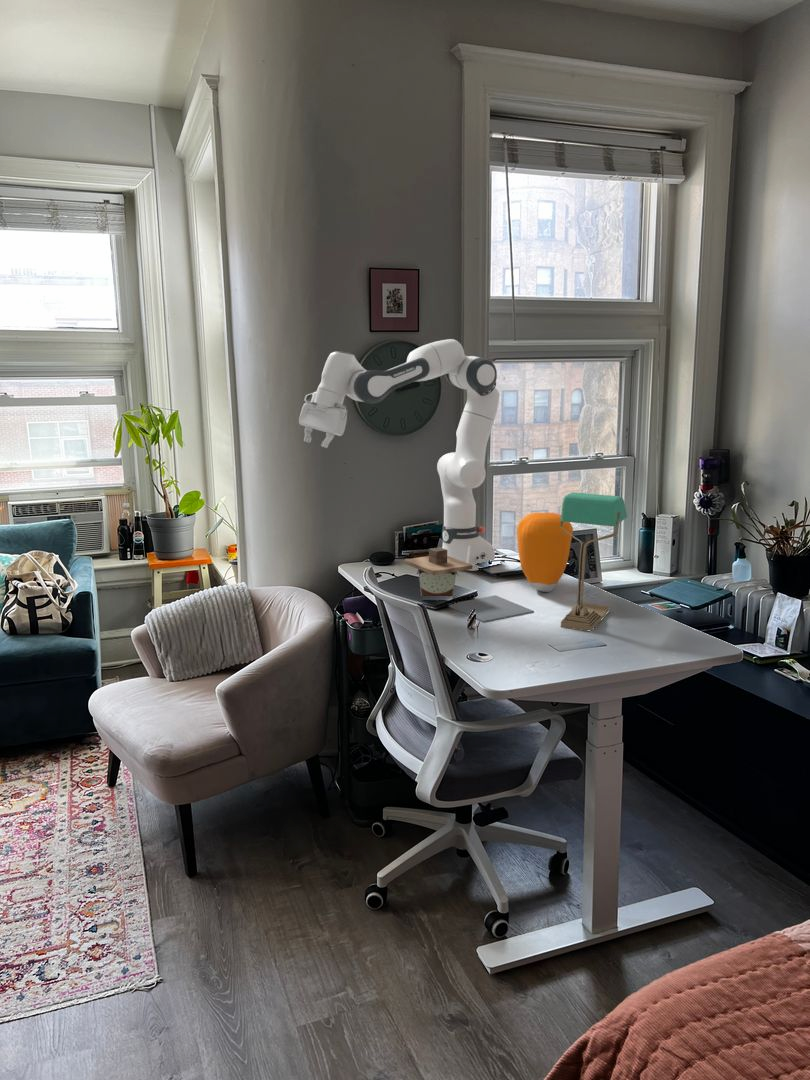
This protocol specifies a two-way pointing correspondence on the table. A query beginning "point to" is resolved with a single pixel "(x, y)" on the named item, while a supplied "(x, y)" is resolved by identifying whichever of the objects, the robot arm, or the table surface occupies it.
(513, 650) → the table surface
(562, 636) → the table surface
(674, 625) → the table surface
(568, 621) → the banker's lamp
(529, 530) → the orange tapered rounded form
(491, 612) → the charcoal mat
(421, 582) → the food container
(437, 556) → the walnut cover
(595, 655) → the table surface
